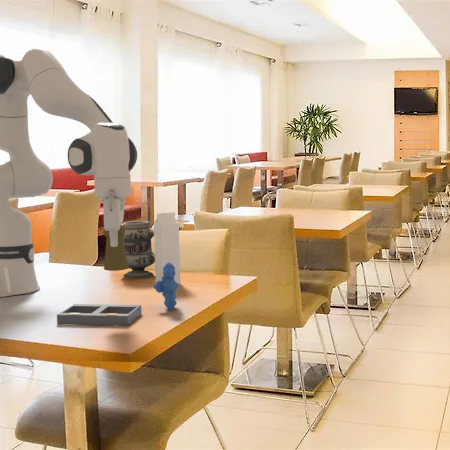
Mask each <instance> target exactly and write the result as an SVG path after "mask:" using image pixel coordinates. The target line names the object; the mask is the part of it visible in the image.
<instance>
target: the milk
mask: <svg viewBox="0 0 450 450" xmlns="http://www.w3.org/2000/svg"><path fill="white" fill-rule="evenodd" d="M179 225H180V224H179V222H178V220H177V218H176V214H175V212H163V213H156V219H155V221H154V222H153V230H154V236H153V239H154V240H153V241H154V243H153V244H154V254H155V262H154V268H155V270H154V271H155V273H154V274H155V283H156V282H157V281H162V277H163V276H164V275H163V271H164V270H163V268H164V266H165V265H166V264H167V263H171V264H172V265H173V266H174V267H175V270H174V271H175V273H176V274H175V276H174V280H175V281H176V283H177V284H178V285H180V284H181V259H180V255H181V254H180V227H179Z"/></svg>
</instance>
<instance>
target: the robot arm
mask: <svg viewBox="0 0 450 450" xmlns="http://www.w3.org/2000/svg"><path fill="white" fill-rule="evenodd" d="M30 95H31V97H32V99H33V100H34V103H35V104H36V105H37V106H38V107H39V108H40V109H41V110H42V111H43V112H45V113H47V114H49V115H52V116H54V117H55V116H56V117H60V118H61V117H62V118H65V119H69V120H73V121H76V122H78V123H81V124H83V125H85V126H86V127H87V128H88V129H89V130H90V132H88V133H87V134H85V135H83V136H81V137H78V138H75V139H73V140H72V141H71V143H70V144H69V147H68V150H67V162H68V165H69V167H70V168H71V170H72V171H73V172H74V173H75V174H77V175H81V176H93V181H94V183H93V185H94V196H95V197H96V198H100V199H99V202H100V204H103V207H102V208H103V227H104V228H103V230H104V229H105V231H109V236H110V245H111V247H117V246H118V230H119V229H120V227H121V225H123V223H124V219H125V218H124V217H125V216H124V215H125V208H126V207H125V204H126V203H127V197H130V196H132V187H131V185H132V182H131V180H132V179H131V174H130V173H131V171H132V170H133V169H134V167H135V165H136V164H137V161H138V151H137V147H136V146H135V144H134V142H133V141H132V140H131V138H130V137H129V136H128V132H127V129H126V127H125V126H124V125H122V124H120V123H117V122H116V123H115V122H113V120H112V119H111V117H109V116H108V114H107V113H106V112H105V111H104V109H103V108H102V107H101V106H100V105H99V103H98V102H97V101H96V100H95V99H94V98H92V96H90V95H89V94H87V93H86V92H85V91H83V89H81V88H80V87H79V86H78V85H77V84H76V83H75V82H74V81H73V79H71V77H70V75H69V74H68V73H67V71H66V70H65V68H64V67H63V65H62V64H61V63H60V61H59V60H58V59H57V58H56V57H55V55H53V54H52V53H51V52H50V51H49V50H47V49H46V48H43V47H35V48H32V49H29V50H27V51H26V52H25V53H18V54H17V53H16V54H3V55H2V54H0V151H3V152H6V153H8V155H9V161H0V298H4V297H10V296H15V295H17V296H18V295H23V294H30V293H33V292H37V291H39V290H40V286H39V282H38V279H37V275H36V274H37V273H36V270H35V263H34V262H35V249H34V248H35V247H34V243H33V242H32V239H33V238H32V224H31V219H30V217H29V215H27V214H26V213H25V212H23V211H21V210H19V209H16V208H14V207H13V206H11V203H10V200H11V199H23V198H34V197H39V196H42V195H45V194H46V195H47V194H48V192H49V191H50V189H52V186H53V181H54V177H53V173H52V171H51V167H49V165H48V164H46V163H45V162H43V161H42V160H41V159H40V158H39V157H38V156H37V155H36V153H35V152H34V150H33V147H32V145H31V142H30V141H31V140H30V135H29V117H28V115H29V111H28V98H29V96H30Z"/></svg>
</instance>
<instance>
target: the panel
mask: <svg viewBox="0 0 450 450" xmlns="http://www.w3.org/2000/svg"><path fill="white" fill-rule="evenodd" d="M142 313H143V312H142V304H99V303H97V304H96V303H94V304H93V303H92V304H91V303H88V304H87V303H84V304H83V303H74V304H72V305H70V306H69V307H67V308H66V309H64V310H62V311H60V312H59V313H57V314H56V324H57V325H62V324H77V325H76V326H80V325H81V326H115V325H118V326H119V327H120V326H121V327H122V326H123V327H125V326H126V327H128V326H129V325H131V324H132V323H133V322H134V321H135V320H137V319H138V318H139V317H141V315H142Z"/></svg>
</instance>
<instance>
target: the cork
mask: <svg viewBox="0 0 450 450" xmlns="http://www.w3.org/2000/svg"><path fill="white" fill-rule="evenodd" d="M103 234H104V236H105V238H106V240H105V241H106V242H105V252H104V253H105V255H104V266H103V270H105V271H109V272H110V271H111V272H118V271H124V270H128V269H129V268H128V262H127V257H126V251H125V245H124V239H123V237H124V235H125V228H124V226H123V224H121V227H120V229H119V230H118V246H117V247H111V245H110V236H109V231H105V229H104V228H103Z"/></svg>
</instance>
